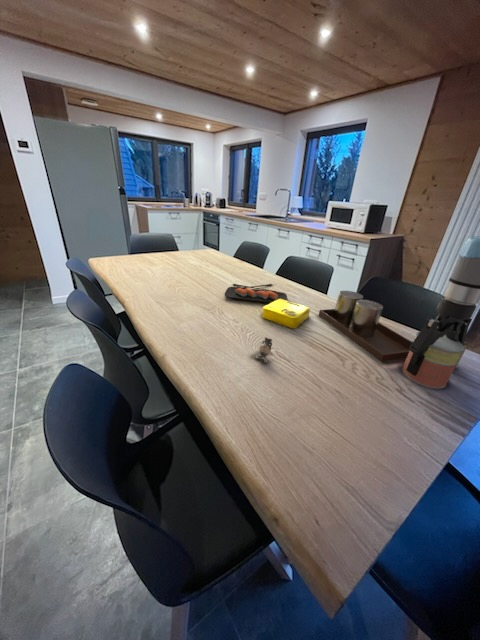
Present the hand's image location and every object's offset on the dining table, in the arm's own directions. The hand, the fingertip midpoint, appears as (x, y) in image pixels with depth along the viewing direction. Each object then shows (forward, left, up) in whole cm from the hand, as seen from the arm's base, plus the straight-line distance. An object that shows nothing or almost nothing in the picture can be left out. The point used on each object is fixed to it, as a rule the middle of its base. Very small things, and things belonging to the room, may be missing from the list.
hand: (426, 370), depth 77 cm
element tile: (+44, +23, -2) cm, 50 cm away
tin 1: (+36, 0, -1) cm, 37 cm away
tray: (+25, 0, -2) cm, 25 cm away
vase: (+19, +43, -2) cm, 47 cm away
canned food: (0, 0, -2) cm, 2 cm away
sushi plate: (+73, +24, -2) cm, 77 cm away
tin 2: (+26, 0, -1) cm, 27 cm away
